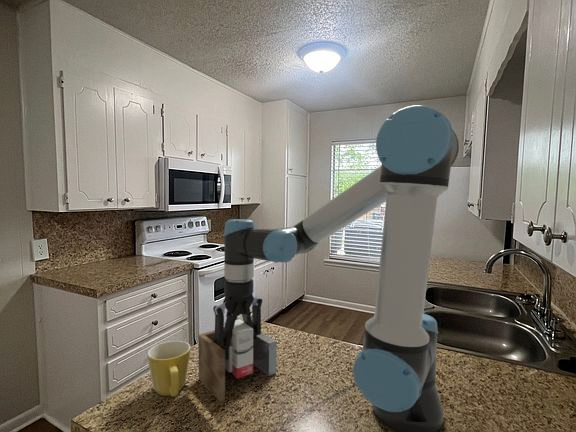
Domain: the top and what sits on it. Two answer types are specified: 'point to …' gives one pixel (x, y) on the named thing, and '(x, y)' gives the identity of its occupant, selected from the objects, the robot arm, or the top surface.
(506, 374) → the top surface
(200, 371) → the wooden corner frame
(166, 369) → the mug
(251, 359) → the ink box
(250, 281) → the robot arm
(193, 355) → the top surface
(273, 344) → the bookend
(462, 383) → the top surface
